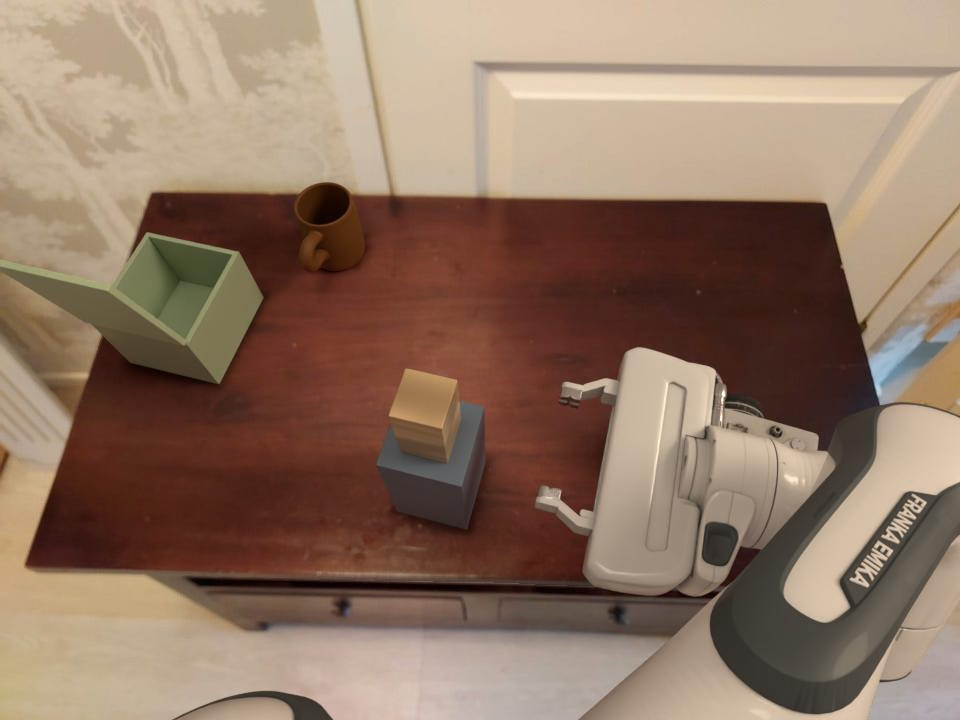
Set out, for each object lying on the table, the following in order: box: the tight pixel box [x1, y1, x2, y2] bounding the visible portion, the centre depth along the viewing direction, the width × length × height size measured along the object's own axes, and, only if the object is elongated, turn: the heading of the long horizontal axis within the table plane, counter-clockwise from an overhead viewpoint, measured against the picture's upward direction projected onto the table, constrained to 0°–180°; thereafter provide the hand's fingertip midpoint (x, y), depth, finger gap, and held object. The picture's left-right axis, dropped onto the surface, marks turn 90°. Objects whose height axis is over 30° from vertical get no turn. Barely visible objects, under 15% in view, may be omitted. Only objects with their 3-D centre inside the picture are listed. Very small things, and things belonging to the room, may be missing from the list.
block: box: [388, 367, 461, 463], centre depth 56 cm, size 4×4×8 cm
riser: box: [375, 400, 487, 531], centre depth 66 cm, size 8×8×15 cm
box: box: [90, 232, 264, 385], centre depth 79 cm, size 13×12×10 cm
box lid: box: [0, 258, 186, 346], centre depth 65 cm, size 14×12×1 cm
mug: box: [293, 181, 366, 273], centre depth 84 cm, size 12×8×9 cm, turn 167°
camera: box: [724, 393, 819, 451], centre depth 70 cm, size 14×9×10 cm, turn 64°
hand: (548, 442), depth 54 cm, fingers open, 8 cm apart
